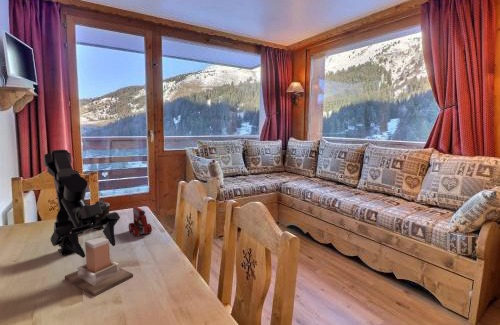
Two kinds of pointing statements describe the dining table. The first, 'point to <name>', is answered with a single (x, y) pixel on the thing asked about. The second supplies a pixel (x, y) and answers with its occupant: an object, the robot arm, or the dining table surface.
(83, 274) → the square socket base
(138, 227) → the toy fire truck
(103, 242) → the tan box white top
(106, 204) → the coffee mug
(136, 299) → the dining table surface
